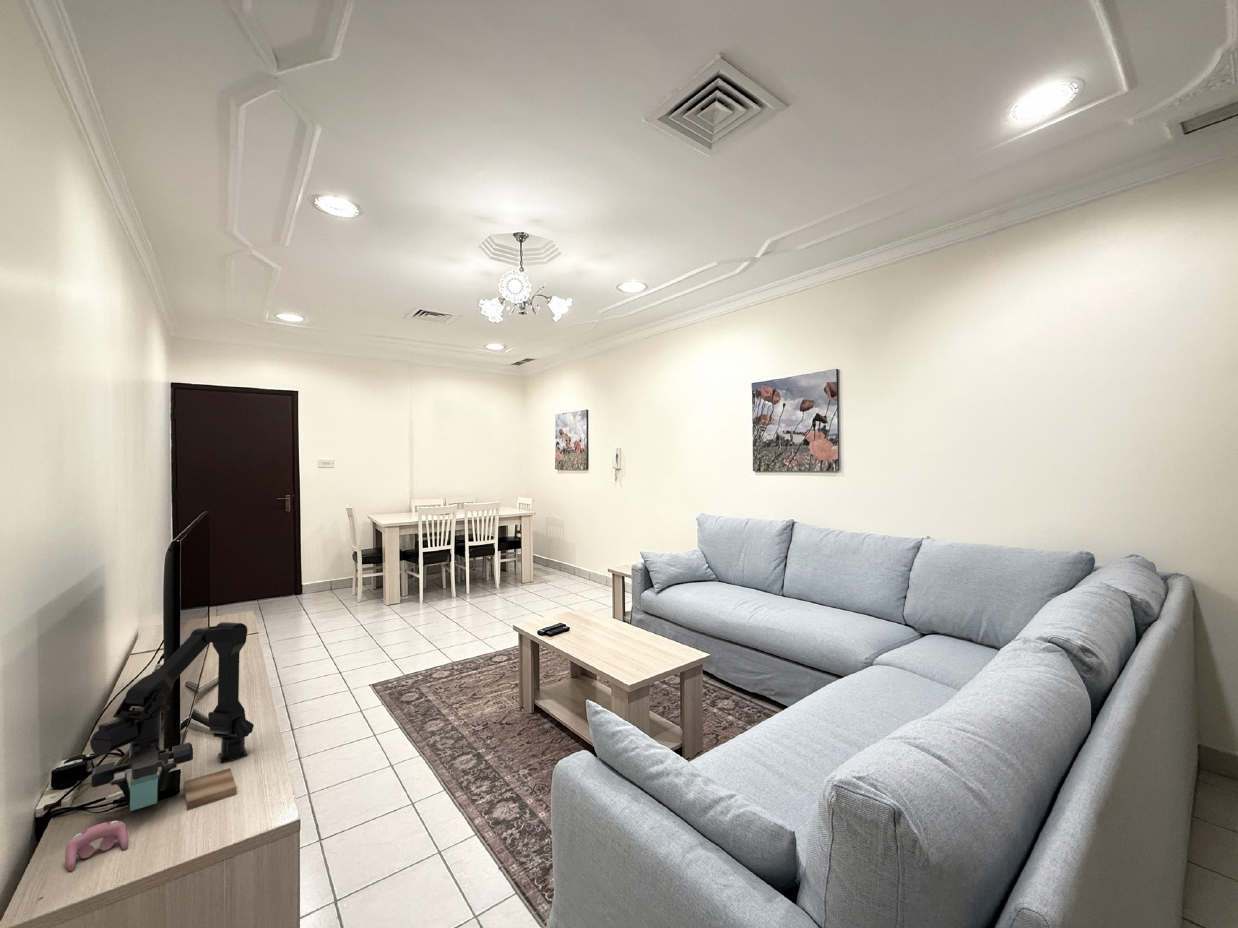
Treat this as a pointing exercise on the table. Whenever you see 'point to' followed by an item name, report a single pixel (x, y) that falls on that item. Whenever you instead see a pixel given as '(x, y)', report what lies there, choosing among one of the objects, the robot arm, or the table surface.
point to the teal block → (143, 791)
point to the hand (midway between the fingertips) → (143, 797)
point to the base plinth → (209, 788)
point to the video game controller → (82, 840)
